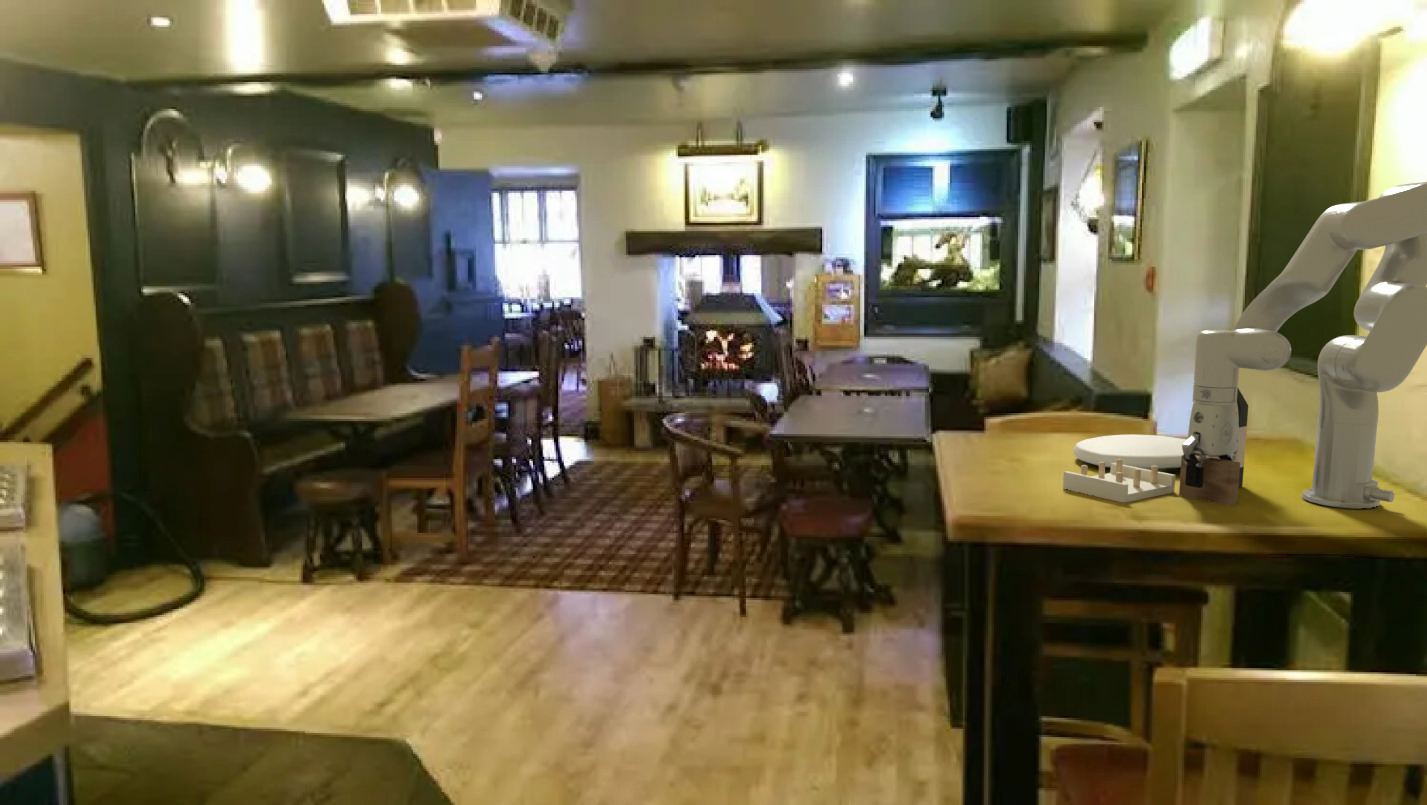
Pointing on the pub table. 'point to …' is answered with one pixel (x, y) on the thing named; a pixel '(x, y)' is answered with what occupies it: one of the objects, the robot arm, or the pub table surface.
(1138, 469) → the rack
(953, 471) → the pub table surface
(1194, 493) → the walnut board
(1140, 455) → the plate
